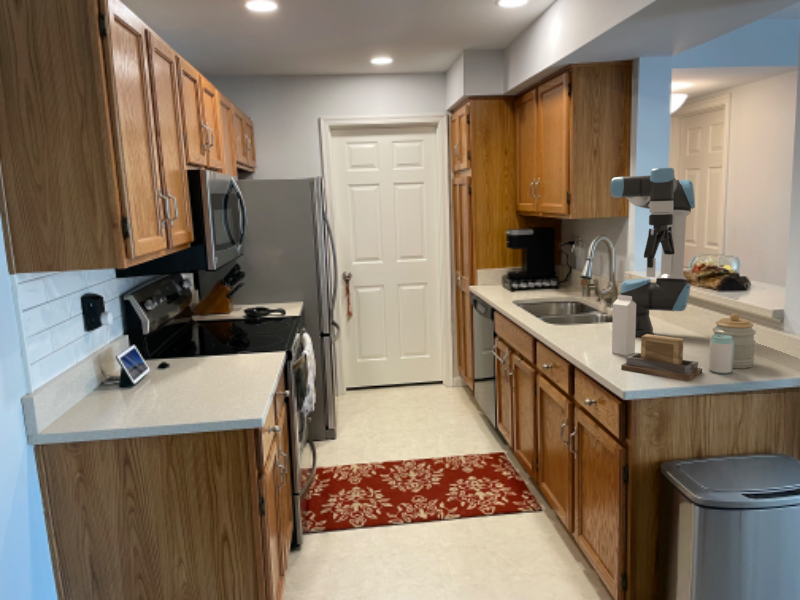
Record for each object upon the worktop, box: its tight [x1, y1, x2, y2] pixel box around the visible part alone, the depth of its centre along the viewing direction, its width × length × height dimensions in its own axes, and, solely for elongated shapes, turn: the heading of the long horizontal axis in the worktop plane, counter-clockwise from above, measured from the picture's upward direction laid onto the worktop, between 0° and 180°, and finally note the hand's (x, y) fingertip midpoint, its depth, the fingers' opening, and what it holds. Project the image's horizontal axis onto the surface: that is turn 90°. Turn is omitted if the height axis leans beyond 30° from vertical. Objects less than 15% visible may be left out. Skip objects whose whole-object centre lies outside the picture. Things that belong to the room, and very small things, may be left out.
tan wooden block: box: [640, 334, 684, 365], centre depth 198 cm, size 5×12×10 cm, turn 45°
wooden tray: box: [620, 352, 703, 382], centre depth 199 cm, size 12×22×4 cm, turn 45°
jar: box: [712, 313, 757, 369], centre depth 203 cm, size 13×13×18 cm
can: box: [708, 334, 734, 375], centre depth 195 cm, size 7×7×12 cm
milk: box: [611, 294, 636, 357], centre depth 222 cm, size 6×6×22 cm
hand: (658, 274), depth 208 cm, fingers open, 13 cm apart
